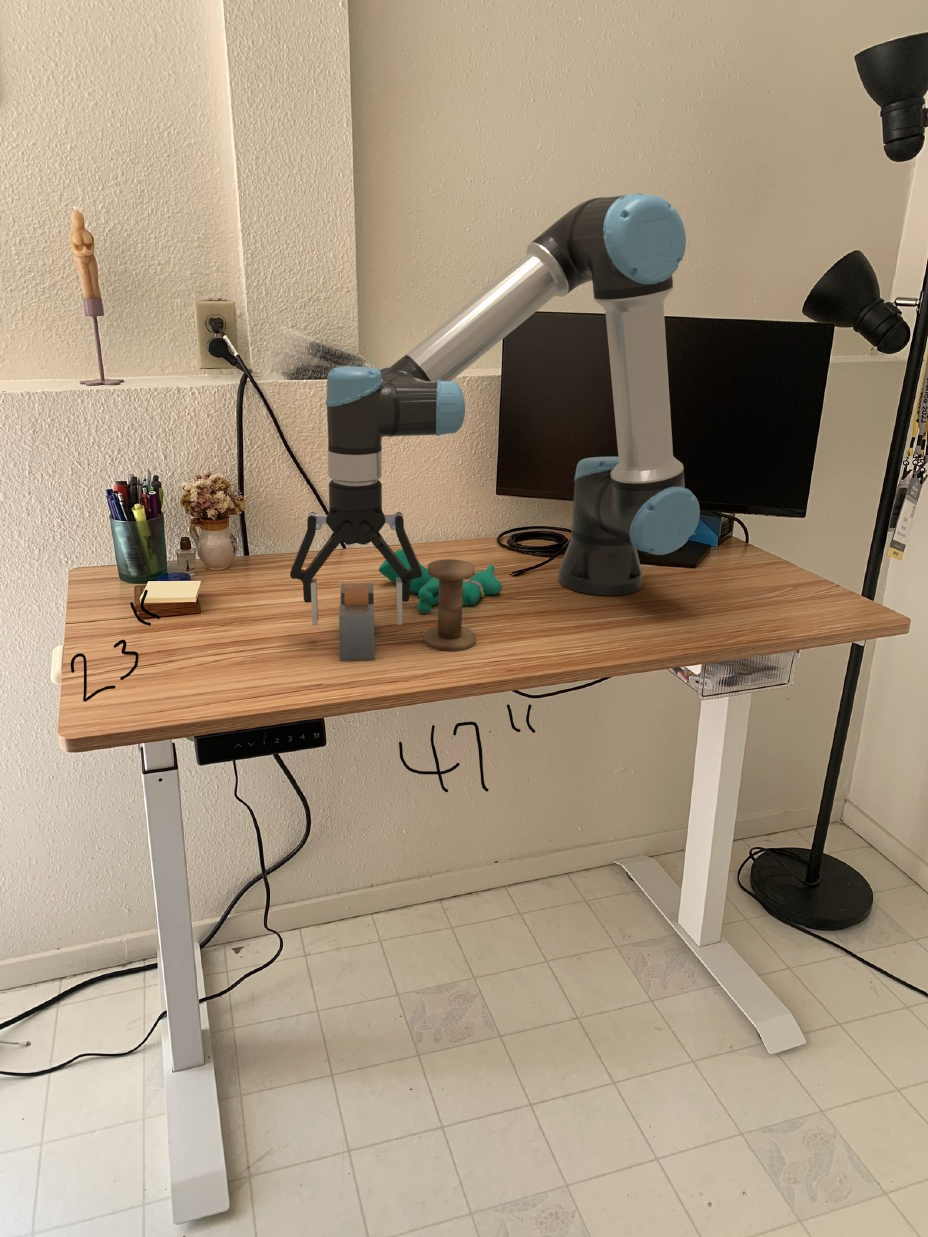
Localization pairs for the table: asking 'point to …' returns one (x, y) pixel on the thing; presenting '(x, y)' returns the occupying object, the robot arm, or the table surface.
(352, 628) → the metal block
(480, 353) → the robot arm
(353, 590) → the orange brown block
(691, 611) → the table surface
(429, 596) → the toy
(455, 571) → the bobbin
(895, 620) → the table surface
